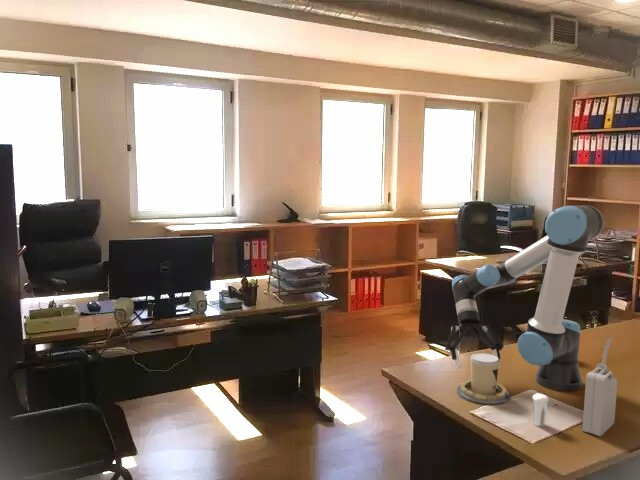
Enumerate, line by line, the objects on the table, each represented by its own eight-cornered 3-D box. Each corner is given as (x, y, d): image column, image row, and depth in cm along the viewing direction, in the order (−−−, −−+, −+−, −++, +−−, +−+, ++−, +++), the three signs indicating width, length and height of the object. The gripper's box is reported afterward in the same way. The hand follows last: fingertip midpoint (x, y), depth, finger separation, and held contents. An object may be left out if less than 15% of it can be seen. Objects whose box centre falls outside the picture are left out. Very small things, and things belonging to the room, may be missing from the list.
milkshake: (525, 421, 165) (527, 389, 164) (542, 420, 165) (544, 388, 164) (532, 428, 160) (534, 395, 159) (550, 427, 161) (552, 395, 159)
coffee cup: (499, 398, 179) (501, 363, 178) (469, 395, 181) (471, 361, 180) (496, 387, 188) (497, 353, 187) (468, 385, 190) (469, 351, 189)
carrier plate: (512, 389, 189) (512, 383, 188) (506, 408, 173) (507, 401, 173) (462, 381, 196) (462, 375, 195) (452, 399, 180) (453, 392, 180)
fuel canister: (599, 415, 169) (605, 336, 166) (617, 420, 166) (623, 340, 163) (581, 431, 158) (587, 347, 155) (599, 437, 155) (606, 352, 152)
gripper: (498, 319, 205) (510, 372, 192) (432, 319, 204) (440, 372, 191) (504, 309, 199) (517, 363, 186) (436, 308, 198) (444, 363, 185)
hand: (478, 368), depth 189 cm, fingers open, 13 cm apart
